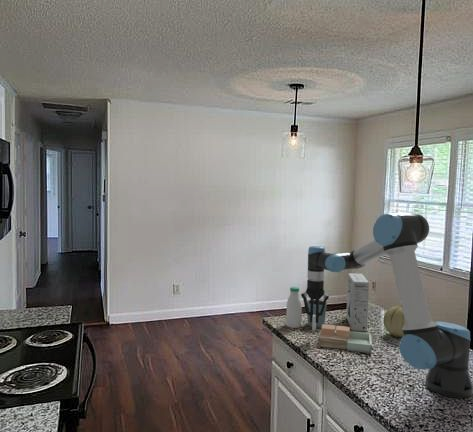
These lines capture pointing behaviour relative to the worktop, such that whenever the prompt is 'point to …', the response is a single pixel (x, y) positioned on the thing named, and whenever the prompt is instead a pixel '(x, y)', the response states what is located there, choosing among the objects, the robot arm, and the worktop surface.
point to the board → (333, 341)
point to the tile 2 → (342, 331)
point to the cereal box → (357, 302)
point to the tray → (359, 342)
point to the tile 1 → (328, 330)
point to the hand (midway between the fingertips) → (313, 329)
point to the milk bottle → (294, 309)
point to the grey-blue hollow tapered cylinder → (321, 318)
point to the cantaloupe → (394, 321)
